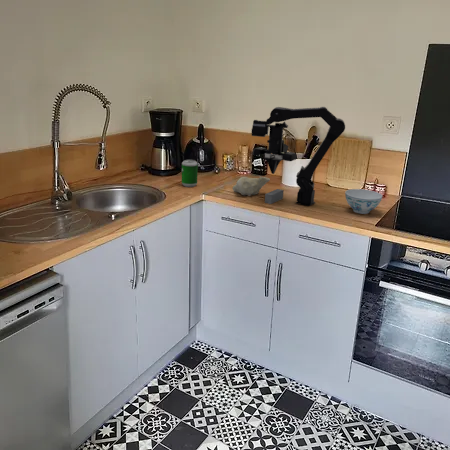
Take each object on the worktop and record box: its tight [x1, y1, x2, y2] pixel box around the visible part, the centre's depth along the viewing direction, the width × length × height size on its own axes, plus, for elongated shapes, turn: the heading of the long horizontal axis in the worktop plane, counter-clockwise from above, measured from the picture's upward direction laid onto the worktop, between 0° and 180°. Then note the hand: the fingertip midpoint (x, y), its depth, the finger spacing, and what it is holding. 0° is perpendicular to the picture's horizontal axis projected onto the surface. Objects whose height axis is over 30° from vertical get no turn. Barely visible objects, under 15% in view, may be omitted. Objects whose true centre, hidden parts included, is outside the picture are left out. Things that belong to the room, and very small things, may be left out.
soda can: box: [181, 159, 199, 188], centre depth 220 cm, size 8×8×12 cm
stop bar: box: [264, 188, 284, 205], centre depth 203 cm, size 3×11×4 cm, turn 145°
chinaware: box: [344, 188, 383, 215], centre depth 193 cm, size 15×15×8 cm
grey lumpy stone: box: [232, 175, 271, 197], centre depth 211 cm, size 15×7×15 cm
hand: (273, 173), depth 201 cm, fingers closed
